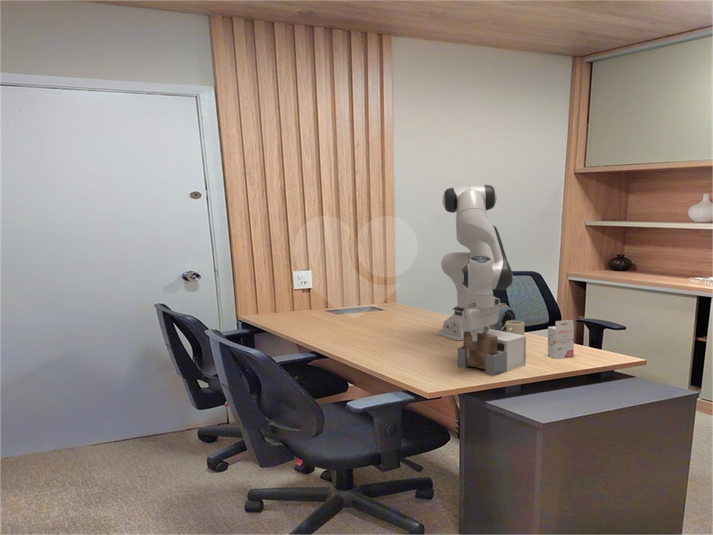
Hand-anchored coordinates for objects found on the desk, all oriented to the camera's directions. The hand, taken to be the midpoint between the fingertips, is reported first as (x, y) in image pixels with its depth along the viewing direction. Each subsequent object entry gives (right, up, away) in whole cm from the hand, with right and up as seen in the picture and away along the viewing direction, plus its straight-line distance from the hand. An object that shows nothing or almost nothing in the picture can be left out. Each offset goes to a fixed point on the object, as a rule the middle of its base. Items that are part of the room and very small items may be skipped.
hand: (480, 339), depth 184 cm
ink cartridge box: (+36, -9, +16) cm, 40 cm away
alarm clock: (+18, -7, +38) cm, 43 cm away
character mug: (+19, -9, +21) cm, 29 cm away
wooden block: (0, -10, +1) cm, 10 cm away
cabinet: (+6, -10, +6) cm, 13 cm away
